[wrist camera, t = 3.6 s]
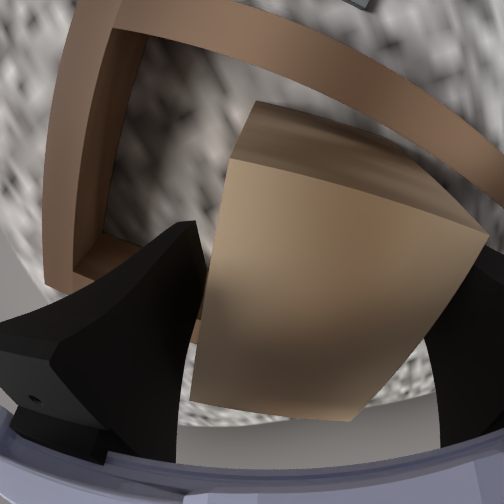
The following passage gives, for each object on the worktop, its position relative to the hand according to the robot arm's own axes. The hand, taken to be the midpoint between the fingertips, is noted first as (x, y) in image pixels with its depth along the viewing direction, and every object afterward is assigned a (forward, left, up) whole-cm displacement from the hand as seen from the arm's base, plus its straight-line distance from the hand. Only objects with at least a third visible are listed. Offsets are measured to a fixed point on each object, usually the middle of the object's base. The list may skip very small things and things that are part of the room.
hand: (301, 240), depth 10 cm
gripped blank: (0, 0, -3) cm, 3 cm away
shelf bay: (+1, 0, -3) cm, 3 cm away
